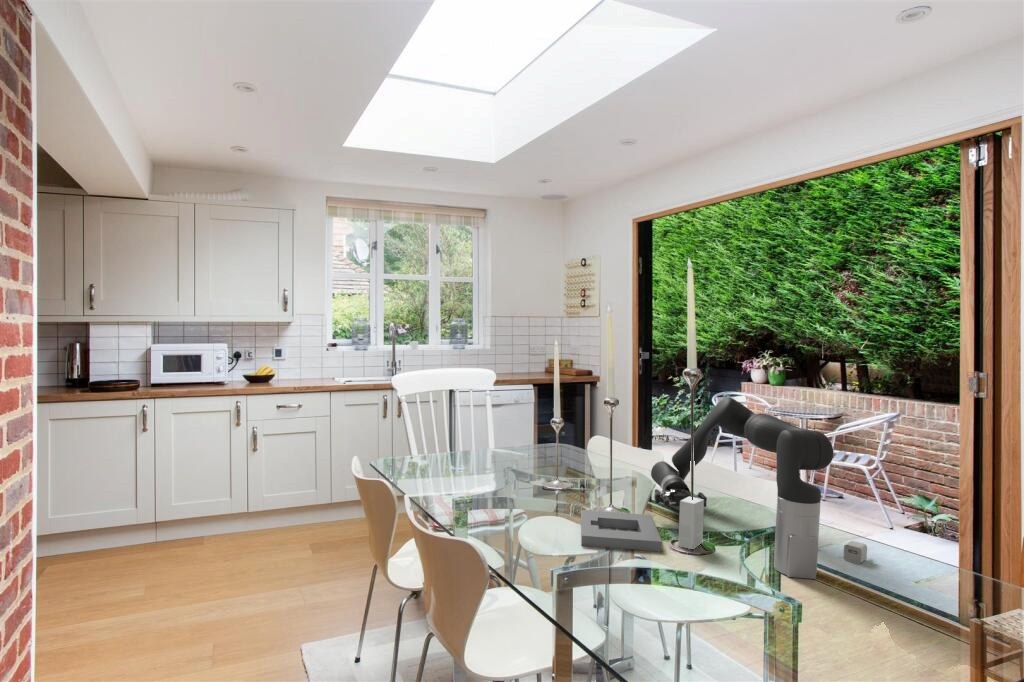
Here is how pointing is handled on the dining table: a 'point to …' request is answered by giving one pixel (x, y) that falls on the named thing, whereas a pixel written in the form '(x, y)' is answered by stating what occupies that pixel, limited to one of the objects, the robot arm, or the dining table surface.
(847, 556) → the usb wall charger
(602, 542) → the block
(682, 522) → the skincare box
